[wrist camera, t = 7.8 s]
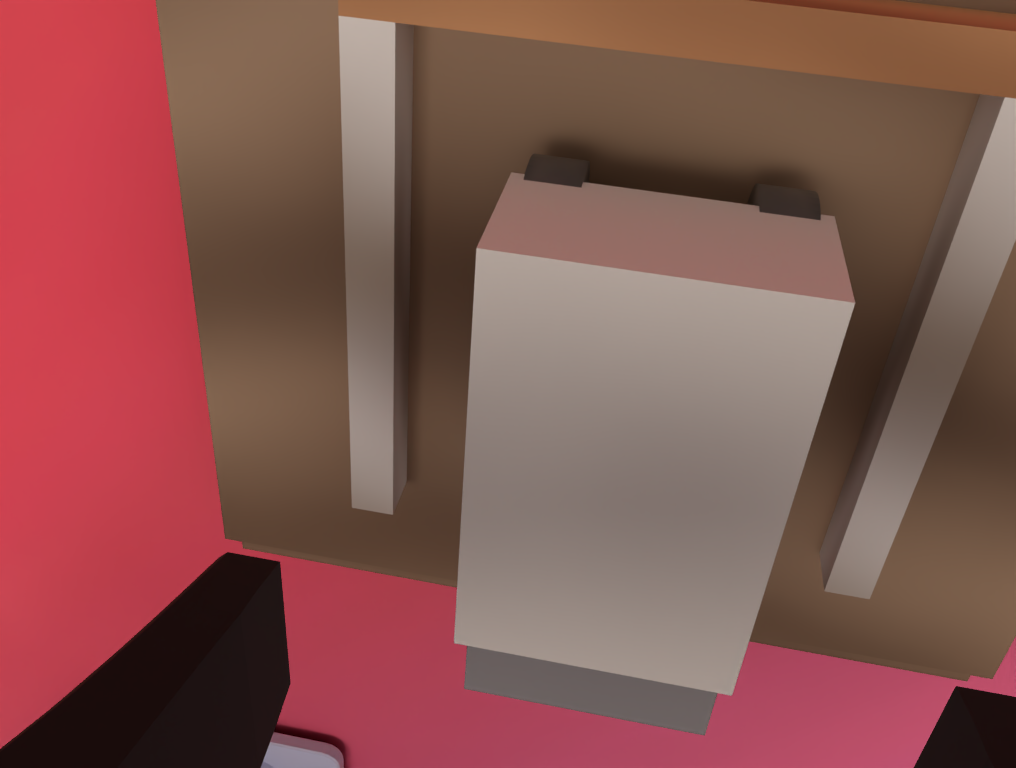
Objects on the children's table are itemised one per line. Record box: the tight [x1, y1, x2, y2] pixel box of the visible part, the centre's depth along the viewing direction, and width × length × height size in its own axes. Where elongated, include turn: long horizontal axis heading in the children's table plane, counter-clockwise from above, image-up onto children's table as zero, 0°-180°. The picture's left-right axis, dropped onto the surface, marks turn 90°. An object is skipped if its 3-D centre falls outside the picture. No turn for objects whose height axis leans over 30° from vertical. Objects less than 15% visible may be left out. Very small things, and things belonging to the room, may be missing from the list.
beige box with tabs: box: [454, 154, 855, 735], centre depth 15 cm, size 8×4×4 cm, turn 176°
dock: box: [156, 0, 1016, 681], centre depth 17 cm, size 14×16×2 cm
